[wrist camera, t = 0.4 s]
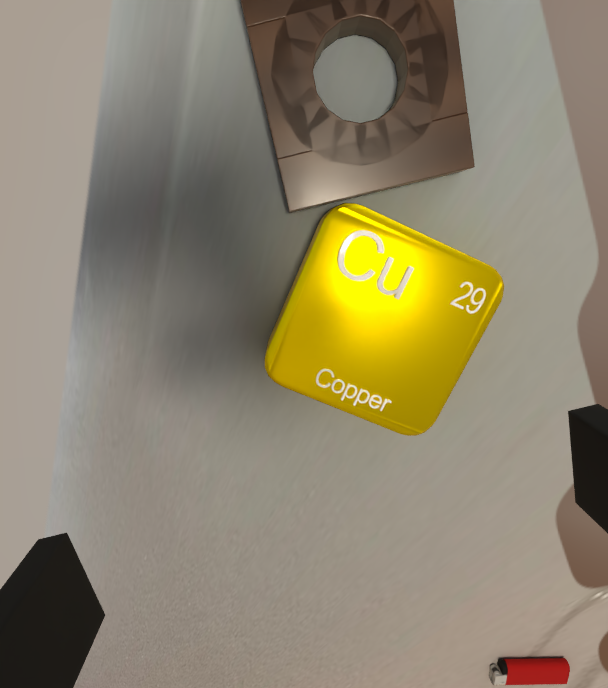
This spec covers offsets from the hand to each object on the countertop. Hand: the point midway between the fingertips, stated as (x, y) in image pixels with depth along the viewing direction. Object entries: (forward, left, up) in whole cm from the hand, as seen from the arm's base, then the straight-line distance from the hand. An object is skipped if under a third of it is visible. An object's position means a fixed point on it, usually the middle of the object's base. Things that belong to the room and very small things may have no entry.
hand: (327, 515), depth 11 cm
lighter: (+44, +15, -28) cm, 54 cm away
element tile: (+2, +6, -28) cm, 28 cm away
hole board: (-16, +8, -28) cm, 33 cm away
